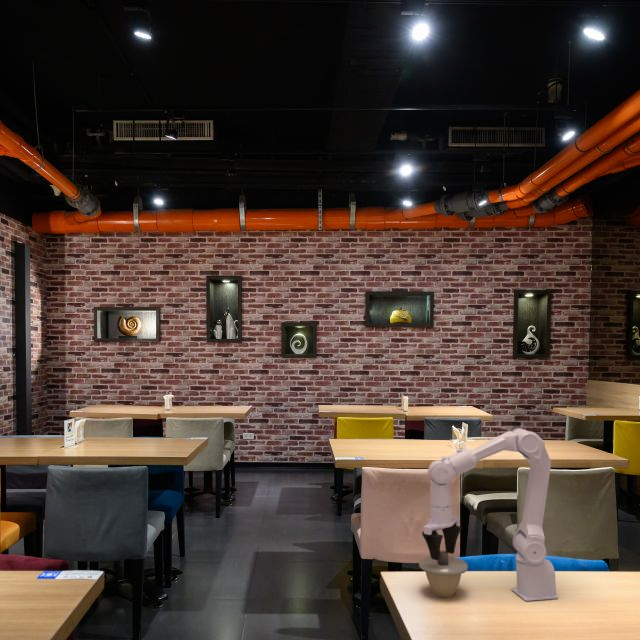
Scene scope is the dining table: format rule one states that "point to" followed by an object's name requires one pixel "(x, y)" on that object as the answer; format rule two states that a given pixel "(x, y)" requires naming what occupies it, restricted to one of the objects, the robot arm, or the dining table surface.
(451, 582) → the flower pot
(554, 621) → the dining table surface
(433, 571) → the lid
